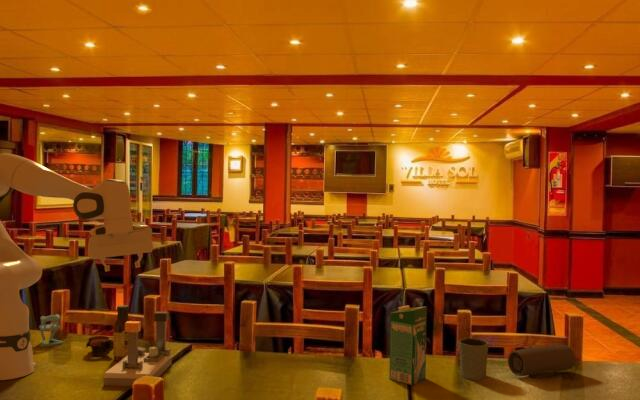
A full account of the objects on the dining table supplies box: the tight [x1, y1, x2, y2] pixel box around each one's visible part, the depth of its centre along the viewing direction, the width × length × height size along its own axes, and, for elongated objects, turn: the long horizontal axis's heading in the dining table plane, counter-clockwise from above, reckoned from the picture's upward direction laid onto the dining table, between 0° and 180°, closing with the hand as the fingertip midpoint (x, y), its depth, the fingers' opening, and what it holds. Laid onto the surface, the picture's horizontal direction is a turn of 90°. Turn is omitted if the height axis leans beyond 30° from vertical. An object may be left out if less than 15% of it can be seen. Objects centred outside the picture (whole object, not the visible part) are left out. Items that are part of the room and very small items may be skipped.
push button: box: [148, 346, 158, 358], centre depth 188 cm, size 3×3×3 cm
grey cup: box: [458, 337, 489, 381], centre depth 188 cm, size 10×10×12 cm
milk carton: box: [388, 305, 428, 386], centre depth 184 cm, size 9×9×25 cm
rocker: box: [138, 346, 147, 355], centre depth 194 cm, size 4×3×2 cm
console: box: [103, 347, 173, 387], centre depth 185 cm, size 15×22×6 cm
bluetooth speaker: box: [507, 344, 576, 379], centre depth 190 cm, size 23×9×10 cm, turn 111°
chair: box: [38, 313, 63, 348], centre depth 220 cm, size 8×8×12 cm
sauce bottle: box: [112, 304, 130, 362], centre depth 201 cm, size 7×6×20 cm
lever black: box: [153, 310, 170, 355], centre depth 193 cm, size 4×2×15 cm, turn 87°
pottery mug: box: [85, 335, 114, 359], centre depth 206 cm, size 12×10×8 cm
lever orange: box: [125, 320, 142, 369], centre depth 179 cm, size 4×2×15 cm, turn 87°
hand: (122, 269), depth 178 cm, fingers open, 8 cm apart
